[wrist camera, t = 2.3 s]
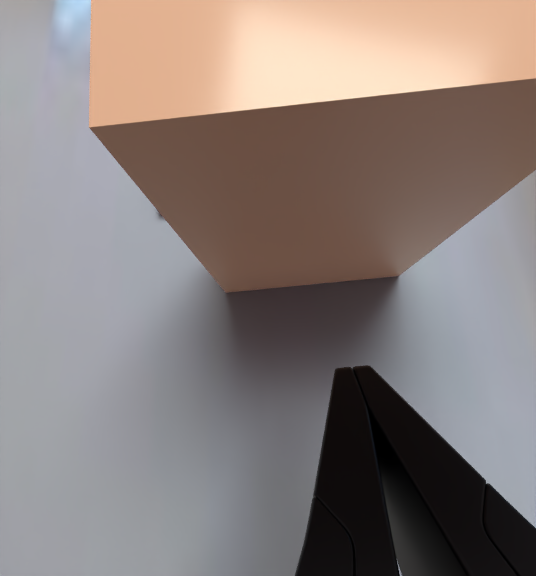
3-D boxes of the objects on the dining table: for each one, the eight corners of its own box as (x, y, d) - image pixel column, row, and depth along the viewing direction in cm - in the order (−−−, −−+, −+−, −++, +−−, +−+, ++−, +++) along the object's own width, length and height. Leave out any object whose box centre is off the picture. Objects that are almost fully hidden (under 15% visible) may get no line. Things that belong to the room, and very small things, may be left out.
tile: (398, 275, 17) (672, 62, 5) (225, 292, 17) (88, 127, 5) (389, 221, 17) (615, -86, 5) (222, 238, 17) (91, -23, 6)
